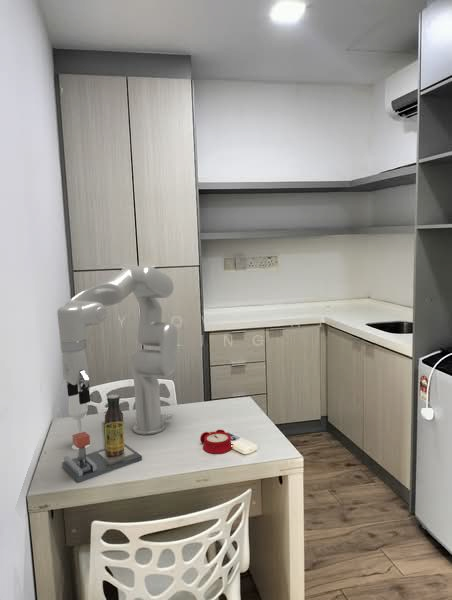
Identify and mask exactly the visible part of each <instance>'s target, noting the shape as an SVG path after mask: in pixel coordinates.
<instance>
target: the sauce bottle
mask: <svg viewBox="0 0 452 600" xmlns="http://www.w3.org/2000/svg"><path fill="white" fill-rule="evenodd" d="M106 397H107V398H106V401H107V411H106V412H105V415H104V421H105V448H106V454H107V455H109V456H117V455H120V454H122V453H123V452H124V444H125V427H124V426H125V424H124V423H125V422H124V413H123V412H122V410H121V407H120V400H121V399H120V395H119V394H109V395H107V396H106Z"/></svg>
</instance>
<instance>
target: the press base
mask: <svg viewBox="0 0 452 600" xmlns="http://www.w3.org/2000/svg"><path fill="white" fill-rule="evenodd" d="M100 423H101V433H102V434H101V435H102V436H101V437H102V445H103V447H102V449H100V450H95V451H92V452H89V453H87V454H86V462H87V463H88V464H89V465H90V468H91V470H90V471H87V472H84V473H82V469H81V468H80V467H79V466H78V465H77V464H76V463H77V462H80V459H79V451H77V457H74V458H71V457H70V456H69V455H63V460H64V461H62V462H61V466H62V468H63V469H64V470H65V471H66V472H67V473H68V474H69V475H70V476H71V477H72V479H74V481H75V482H76V483H78V484H79V483H83V482H85V481H86V480H91V479H93V478H96V477H98V476H101V475H104V474H107V473H110V472H112V471H115V470H118V469H121V468H123V467H127V466H129V465H132V464H134V463H138V462H140V461H143V455H141V454H140V453H138V451H136V450H135V449H133V448H131V447H130V446H129V445H127V444H126V443H124V452H123V453H122V454H120V455H117V456H109V455H107V454H106V448H105V420H102V421H101V422H100Z"/></svg>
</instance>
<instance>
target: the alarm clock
mask: <svg viewBox="0 0 452 600" xmlns="http://www.w3.org/2000/svg"><path fill="white" fill-rule="evenodd" d="M199 438H200V443H201V444H203V445H202V449H203V451H204V452H206V453H209V454H214V455H215V454H221V455H224V454H225V453H227V452H230V451H231V450H232V449H233V447H231V445H233V446H234V444H233V443H232V440H231V438H232V437H231V435H230V433H228V432H226V431H225V430H224V429H217V430H215V431H209V432H208V431H204V432H202V433H201V435H200V437H199ZM231 443H232V444H231Z"/></svg>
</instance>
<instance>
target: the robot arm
mask: <svg viewBox="0 0 452 600" xmlns="http://www.w3.org/2000/svg"><path fill="white" fill-rule="evenodd" d="M174 286H175V285H174V283H173V280H172V278H171V277H170V276H169V275H167V274H165V272H162V271H160V270H159V269H157V268H155V267H152V266H149V265H133V266H132V265H131V266H130V265H129V266H125V267H124V268H122V269H120V270H119V271H118V272H117V273H115V274H114V275H113V276H112V277H110V278H109V279H108V280H106V281H105V282H102V283H99V284H97V285H94V286H93V287H90V288H87V289H85V290H83V291H81V292H79V293H77V294H75V295H74V296H73V297H72V298H70V299H69V300H68V301H67V302H66V303H65V304H64V306H61V307H59V308H58V309H57V313H56V314H57V324H58V333H59V343H60V351H61V354H62V355H61V357H62V360H61V361H62V377H63V380H64V381H65V382H66V388H67V396H68V397H69V396H73V395H77V394H78V393H79V403H80V404H85V403H87V404H89V403H90V402H91V394H90V378H89V377H90V375H89V367H88V359H87V354H86V350H87V349H88V348H87V337H86V327H91V326H93V327H94V326H97V325H100V324H101V323H103V322H105V319H106V318H107V313H108V311H107V309H106V307H110V306H114V305H117V304H120V303H121V302H122V301H123V300H125V299H126V298H127V297H128V296H129V295H130V294H131V293H133V296H135V298H136V301H137V302H138V304H139V312H140V313H139V320H138V328H137V342H138V343H139V344H140V345H141V346H146V347H155V348H156V347H159V350H158V349H146V348H141V349H137V350H135V351H133V353H131V355H130V357H129V366H130V370H131V374H132V379H133V386H134V387H133V388H134V400H135V401H134V402H135V403H134V404H135V405H134V406H135V418H136V423H135V424H134V425H133V427H132V431H133V433H135V434H137V435H143V436H147V435H149V436H150V435H155V434H158V433H161V432H162V431H164V430H165V429H166V423H165V422H166V421H168V420H171V419H173V415H172V414H171V413H170V414H166V413H163V414H162V413H161V412H162V410H161V408H162V407H161V395H160V394H161V393H160V382H159V380H158V377H157V376H159V377H168V376H170V375H172V373H174V370H175V366H176V365H175V364H176V358H177V348H178V341H179V334H178V329H177V327H176V325H175V324H174V323H172V322H167V321H162V317H163V307H162V305H161V303H160V302H159V301H160V300H158V299H165V298H169V297H170V296H171V295H172V294H173V292H174ZM81 380H83V381H81ZM81 384H83V385H82V387H81ZM78 388H79V392H78Z"/></svg>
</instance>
